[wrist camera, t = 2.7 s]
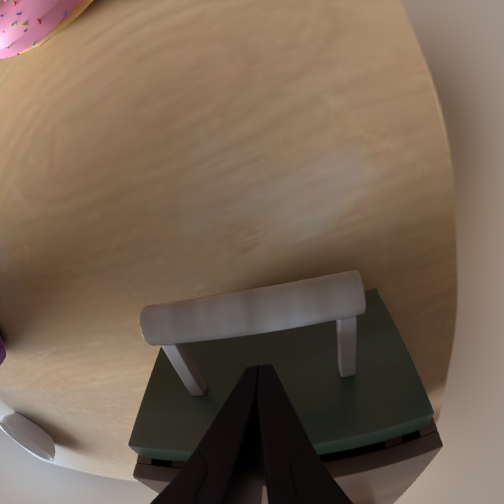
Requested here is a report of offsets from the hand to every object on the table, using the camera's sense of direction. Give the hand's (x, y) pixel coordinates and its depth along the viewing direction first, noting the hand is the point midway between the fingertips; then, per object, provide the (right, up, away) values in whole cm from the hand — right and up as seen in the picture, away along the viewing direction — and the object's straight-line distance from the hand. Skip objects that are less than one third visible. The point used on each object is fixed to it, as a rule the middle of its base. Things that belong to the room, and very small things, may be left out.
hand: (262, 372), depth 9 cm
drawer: (+2, -3, +8) cm, 9 cm away
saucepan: (-40, -24, +21) cm, 51 cm away
